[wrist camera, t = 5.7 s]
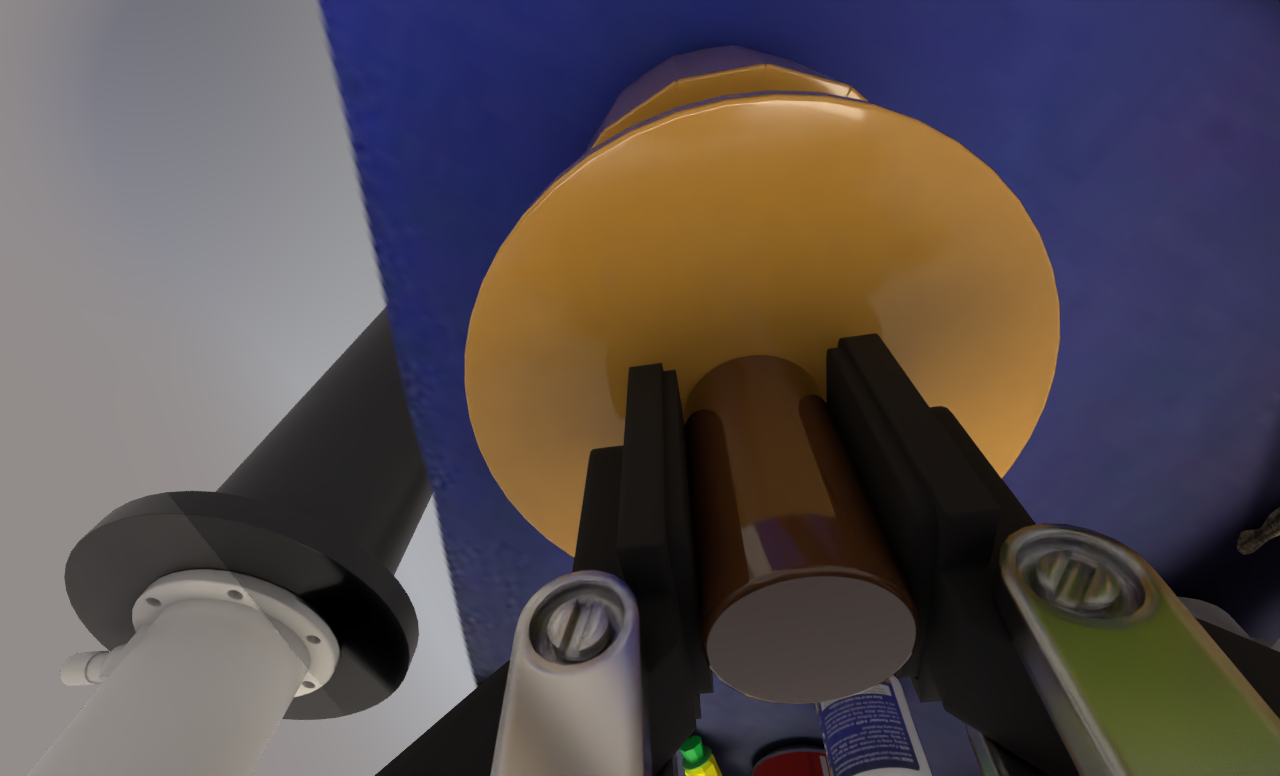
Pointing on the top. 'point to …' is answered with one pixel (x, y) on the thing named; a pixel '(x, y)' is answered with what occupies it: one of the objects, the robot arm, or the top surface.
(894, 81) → the top surface
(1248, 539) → the toy
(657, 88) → the pot
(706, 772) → the toy figure
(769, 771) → the soda can
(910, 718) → the pill bottle
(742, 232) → the pot lid
